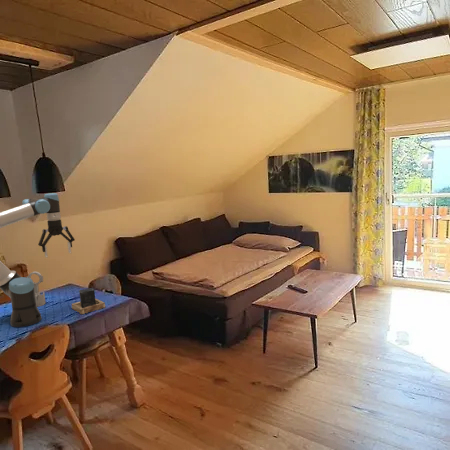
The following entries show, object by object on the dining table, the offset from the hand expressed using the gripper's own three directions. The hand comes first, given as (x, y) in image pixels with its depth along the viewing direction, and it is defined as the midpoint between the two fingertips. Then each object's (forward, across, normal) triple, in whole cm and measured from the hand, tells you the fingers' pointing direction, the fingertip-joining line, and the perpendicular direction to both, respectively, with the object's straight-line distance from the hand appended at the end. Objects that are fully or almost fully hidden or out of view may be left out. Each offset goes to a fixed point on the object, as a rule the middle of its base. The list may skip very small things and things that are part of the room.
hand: (58, 255), depth 239 cm
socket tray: (+30, +8, -19) cm, 37 cm away
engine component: (+31, -12, +13) cm, 35 cm away
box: (+30, +8, -19) cm, 37 cm away
